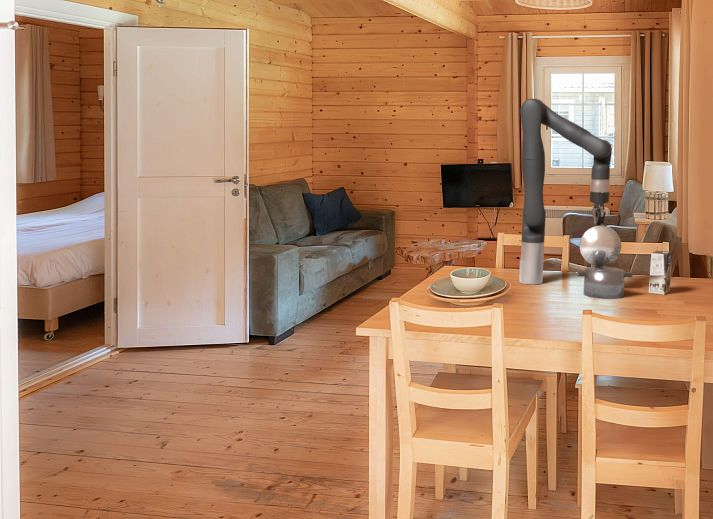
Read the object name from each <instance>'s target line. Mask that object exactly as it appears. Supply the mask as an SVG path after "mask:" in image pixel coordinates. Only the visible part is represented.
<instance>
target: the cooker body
mask: <svg viewBox="0 0 713 519" xmlns="http://www.w3.org/2000/svg"><path fill="white" fill-rule="evenodd" d="M576 276H577V277H581V278H582V277H583V292H582V293H583V296H585V297H590V298H594V299H603V300H611V299H612V300H614V299H621V298H623V297H624V292H625V291H624V290H625V289H624V288H625V278H633V272H631V271H625V269H623V268H620V267H619V268H618V267H612V266H608V265H606V266H595V265H590V266H587V267H585V268H584V271H583V270H582V271H581V270H577V271H576Z"/></svg>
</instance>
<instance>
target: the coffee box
mask: <svg viewBox="0 0 713 519" xmlns="http://www.w3.org/2000/svg"><path fill="white" fill-rule="evenodd" d="M650 256H651V257H650V264H649V265H650V267H649V281H648V282H649V284H648V293H649V294H656V295H667V294H668V293H670V291H671V278H672V277H671V276H672V275H671V274H672V262H673V251H670V250H669V251H668V250H655V251H653V252H651V254H650Z"/></svg>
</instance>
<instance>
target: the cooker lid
mask: <svg viewBox="0 0 713 519" xmlns="http://www.w3.org/2000/svg"><path fill="white" fill-rule="evenodd" d="M621 240H622V239H621V238H620V235H619V234H618V233H617V231H615V230H614V229H613V228H611V227H609V226H608V225H606V224H602V225H595V224H594V225H592V227H590V228H588V229H586V230H585V231H584V233H583V234H582V235H581V238H580V242H579V251H580V254H581V256H582V258H583V259H584V261H586V262H587V263H588V264H590V265H591V266H608V265H610V264H612V263H614V262H615V261H616V260H617V259H618V258H619V255H620V254H621V252H622V241H621Z"/></svg>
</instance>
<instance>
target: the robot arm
mask: <svg viewBox="0 0 713 519" xmlns="http://www.w3.org/2000/svg"><path fill="white" fill-rule="evenodd" d="M520 120H521V129H522V140H521V141H522V142H521V143H522V144H521V173H522V183H523V190H524V199H523V210H522V225H521V226H522V228H521V245H520V246H521V249H520V258H519V271H518V273H519V275H518V276H519V277H518V282H519V283H520V284H522V285H523V284H525V285H542V284H543V281H544V280H543V279H544V278H543V276H544V256H545V235H546V218H547V217H546V213H547V212H546V209H545V203H544V183H545V176H546V175H545V174H546V155H545V154H546V153H545V148H544V144H543V139H542V132H541V130H542V125H543V126H546V127H547V128H548V129H551V130H553V131H555V133H557V134H558V135H560V136H561V137H563V138H564V139H566V140H567V141H569V142H570V143H572V144H574V145H576V146H577V147H580V148H582V149H584V150H585V151H586V152H587V153H589V154H590V155H592V156H593V162H592V167H591V174H590V175H591V176H590V177H591V180H590V186H589V203H592V204H593V207H592V209H591V213H592V214H591V215H592V223H594V225H604V221H605V218H606V208H605V204H608V203H610V190H611V188H610V187H611V183H610V177H611V176H610V175H611V174H610V172H611V170H610V169H611V159H612V152H613V149H612V148H613V146H612V144H611V142H609V141H608V140H606V139H602V138H599V137H598V136H596V135H594V134H592V133H591V132H590V131H589V130H587V129H585V127H582V126H580V125H579V124H577V123H575V122H573V121H571V120H568V119H567V118H565V117H563V116H562V115H560V114H558V113H556V112H555V111H554V110H553V109H551V108H550V106H547V105H546V104H545V103H544V102H543V101H542V100H540V99H538V98H527V99H525V100H524V101H523V102H522V104H521V106H520Z"/></svg>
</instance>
